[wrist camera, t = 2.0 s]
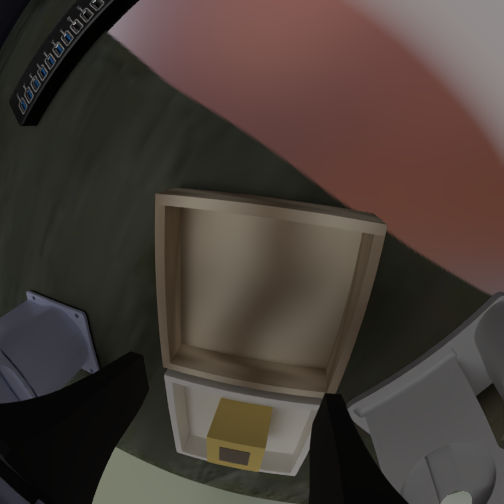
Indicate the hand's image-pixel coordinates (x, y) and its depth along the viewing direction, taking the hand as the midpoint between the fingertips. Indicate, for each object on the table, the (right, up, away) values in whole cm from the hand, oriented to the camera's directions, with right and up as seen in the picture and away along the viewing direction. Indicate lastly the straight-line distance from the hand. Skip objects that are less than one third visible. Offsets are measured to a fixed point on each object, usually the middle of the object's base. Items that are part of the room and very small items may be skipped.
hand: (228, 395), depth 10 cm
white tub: (0, -9, +13) cm, 16 cm away
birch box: (+2, +3, +9) cm, 9 cm away
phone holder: (+18, -6, +9) cm, 21 cm away
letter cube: (0, -9, +13) cm, 16 cm away
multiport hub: (-14, +22, +6) cm, 27 cm away
